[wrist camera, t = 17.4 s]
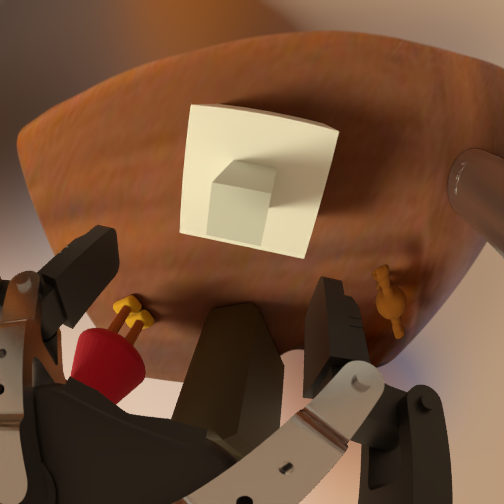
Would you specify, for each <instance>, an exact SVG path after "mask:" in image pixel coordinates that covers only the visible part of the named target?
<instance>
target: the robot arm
mask: <svg viewBox="0 0 504 504" xmlns="http://www.w3.org/2000/svg"><path fill="white" fill-rule="evenodd" d="M448 196H449V201H450V203H451V205H452V208H453V209H454V210H455V212H456V213H457V214H459V215H460V216H461V217H462V218H463V219H464V220H465V221H466V222H468V223H469V224H470V225H471V226H472V227H473V228H474V229H475V230H476V231H477V232H478V233H479V234H480V235H481V236H482V237H483V238H484V239H485V240H486V241H487V242H488V243H489V244H490V245H491V246H492V247H493V248H494V249H495V250H496V251H497V252H498V253H499V254H500V255H501V256H502V257H503V258H504V159H502V158H500V157H498V156H496V155H493V154H491V153H489V152H486V151H484V150H481V149H478V148H474V149H469V150H466V151H465V152H463V153H462V154H461V155H460V156H459V157H458V158H457V159H456V161H455V162H454V164H453V166H452V168H451V171H450V174H449V178H448ZM118 269H119V253H118V243H117V234H116V231H115V229H113V228H110V227H105V226H101V225H97V226H95V227H94V228H93V229H91V230H90V231H89V232H88V233H86V234H85V235H83V236H81V237H79V238H76V239H75V240H73V241H72V242H71V243H70V244H69V245H67V248H66V247H65V248H64V249H63V250H62V251H60V253H58V254H57V255H56V256H55V257H54V258H52V259H51V260H50V261H49V262H48V263H47V264H46V265H45V266H44V267H43V268H42V269H41V270H39V271H38V272H37V273H36V272H34V271H24V272H21V273H19V274H17V275H16V276H15V277H13V278H12V279H11V281H10V280H1V277H0V504H298V503H299V502H300V501H302V499H303V498H305V496H307V494H309V493H310V492H311V491H312V489H313V488H314V487H315V486H316V485H317V484H318V483H319V482H320V481H321V480H322V479H323V478H324V477H325V475H326V474H327V473H328V472H329V471H330V470H331V469H332V468H333V467H334V465H335V464H336V463H337V462H338V461H339V459H340V458H341V457H342V456H343V454H344V453H345V452H346V450H347V448H348V445H347V443H348V442H349V440H351V441H354V442H357V443H360V444H362V447H361V473H360V488H359V500H358V504H452V474H451V462H450V452H449V444H448V436H447V430H446V424H445V418H444V412H443V407H442V402H441V400H440V397H439V396H438V394H437V393H436V392H435V391H434V390H433V389H432V388H430V387H428V386H426V385H416V386H414V387H413V388H411V389H410V390H409V391H408V392H405V391H402V390H399V389H396V388H394V387H391V386H389V385H387V384H385V383H384V379H383V377H382V375H381V373H380V372H379V370H378V369H377V368H376V367H374V366H373V365H371V364H370V360H369V354H368V349H367V344H366V338H365V333H364V330H363V323H362V321H361V314H360V310H359V307H358V305H357V304H356V302H355V301H354V299H353V298H352V297H350V296H345V295H344V290H343V284H342V281H341V280H336V279H332V278H327V277H320V279H319V281H318V284H317V286H316V289H315V291H314V294H313V296H312V299H311V301H310V304H309V306H308V309H307V313H306V317H305V344H304V382H303V398H311V399H313V400H312V401H311V402H310V403H309V404H308V405H307V406H306V407H305V408H304V409H302V410H300V411H299V412H297V413H296V414H295V415H294V416H292V417H291V418H290V419H289V420H288V421H287V422H286V423H285V424H284V425H283V426H281V427H280V428H279V429H278V430H277V431H276V432H275V433H273V434H272V435H271V436H270V437H269V438H268V439H266V440H265V441H264V442H263V443H262V444H260V445H259V446H258V447H257V448H255V449H254V450H253V451H252V452H250V453H249V454H248V455H246V456H245V457H244V458H243V459H241V460H240V461H239V462H238V460H237V459H236V458H235V457H234V456H233V455H232V454H231V453H229V452H228V451H227V450H226V449H224V448H223V447H222V446H220V445H218V444H217V443H215V442H213V441H212V440H210V439H208V438H207V434H208V430H206V429H202V428H198V427H194V426H191V425H187V424H184V423H181V422H177V421H174V420H171V419H164V418H155V417H147V416H140V415H133V414H129V413H126V412H125V411H123V410H122V409H120V408H119V407H118V406H117V405H115V404H114V403H113V402H112V401H110V400H109V399H108V398H106V397H105V396H104V395H103V394H102V393H100V392H99V391H98V390H96V389H94V388H92V387H90V386H88V385H86V384H84V383H82V382H80V381H78V380H76V379H74V378H72V377H71V376H70V377H69V379H68V380H67V382H66V380H65V377H64V373H63V365H62V347H61V331H60V329H59V327H60V326H61V325H62V324H64V325H66V326H68V327H70V328H72V329H73V328H74V327H75V325H76V324H77V323H78V321H79V320H80V319H81V317H82V316H83V314H84V313H85V312H86V311H87V310H88V308H89V307H90V306H91V305H92V303H93V302H94V301H95V300H96V298H97V297H98V296H99V295H100V293H101V292H102V291H103V290H104V289H105V287H106V286H107V285H108V284H109V283H110V281H111V280H112V279H113V278H114V277H115V275H116V274H117V272H118Z"/></svg>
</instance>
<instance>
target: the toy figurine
mask: <svg viewBox="0 0 504 504" xmlns="http://www.w3.org/2000/svg"><path fill="white" fill-rule="evenodd" d="M372 276H373V278H374V279H375V280H376V282H378V283H377V284H376V288H377V289H378V290H379V291H378V293H377V296H376V306H377V309H378V311H379V313H380V314H381V315H382V316H383V317H384V318H386V319H391V323H392V329H393V331H394V336H395V338H396V339H399V338H402V337H403V336H404V335H405V333H404V327H403V326H402V324H401V323H400V317H399V316H401V315H402V314H403V312H404V311H405V308H406V297H405V294H404V292H403V291H402V290H401V289H400V288H398V287H396V286H393V285H390V278H389V267H388V265H383V266H381V267H379V268H377V269H376V270H374V271H373V273H372Z"/></svg>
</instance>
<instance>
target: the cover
mask: <svg viewBox="0 0 504 504" xmlns="http://www.w3.org/2000/svg"><path fill="white" fill-rule="evenodd" d="M338 134H339V131H337V130H335V129H334V128H332V127H330V126H328V125H326V124H324V123H320V122H316V121H312V120H308V119H303V118H299V117H295V116H290V115H285V114H280V113H275V112H270V111H264V110H258V109H252V108H246V107H239V106H232V105H224V104H197V105H191V108H190V116H189V124H188V132H187V141H186V151H185V161H184V172H183V185H182V199H181V216H180V233H184V234H189V235H193V236H198V237H203V238H208V239H212V240H217V241H222V242H227V243H231V244H236V245H241V246H246V247H250V248H255V249H260V250H265V251H269V252H274V253H279V254H283V255H288V256H293V257H297V258H302V259H304V257H305V253H306V250H307V247H308V244H309V240H310V237H311V234H312V230H313V227H314V224H315V220H316V217H317V213H318V210H319V206H320V203H321V199H322V196H323V192H324V188H325V185H326V181H327V177H328V174H329V170H330V166H331V162H332V158H333V154H334V150H335V146H336V142H337V138H338Z"/></svg>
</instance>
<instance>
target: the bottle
mask: <svg viewBox="0 0 504 504" xmlns="http://www.w3.org/2000/svg"><path fill="white" fill-rule="evenodd" d="M283 379H284V364H283V362H282V360H281V357H280V355H279V353H278V351H277V349H276V347H275V344H274V342H273V340H272V338H271V336H270V333H269V331H268V329H267V327H266V324H265V322H264V320H263V318H262V316H261V313H260V311H259V309H258V308H257V307H256V306H255V305H254V304H252V303H251V302H250V303H244V304H239V305H233V306H228V307H222V308H216V309H212V310H211V312H210V313H209V315H208V317H207V318H206V321H205V324H204V327H203V329H202V332H201V335H200V338H199V340H198V343H197V346H196V349H195V352H194V355H193V357H192V360H191V363H190V366H189V369H188V372H187V374H186V377H185V380H184V383H183V386H182V389H181V392H180V395H179V398H178V401H177V403H176V407H175V409H174V412H173V415H172V418H171V420H174V421H177V422H181V423H184V424H187V425H191V426H194V427H198V428H202V429H206V430H208V434H207V438H208V439H210V440H212V441H213V442H215V443H217V444H218V445H220V446H222V447H223V448H224V449H226V450H227V451H228V452H229V453H231V454H232V455H233V456H234V457H235V458H236V459H237V460H238V462H239V461H240V460H241V459H243V458H244V457H245V456H246V455H248V454H249V453H250V452H252V451H253V450H254V449H255V448H257V447H258V446H259V445H260V444H262V443H263V442H264V441H265V440H266V439H268V438H269V437H270V436H271V435H272V434H273V433H275V432H276V431H277V430H278V429H279V428H280V417H281V405H282V393H283Z"/></svg>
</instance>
